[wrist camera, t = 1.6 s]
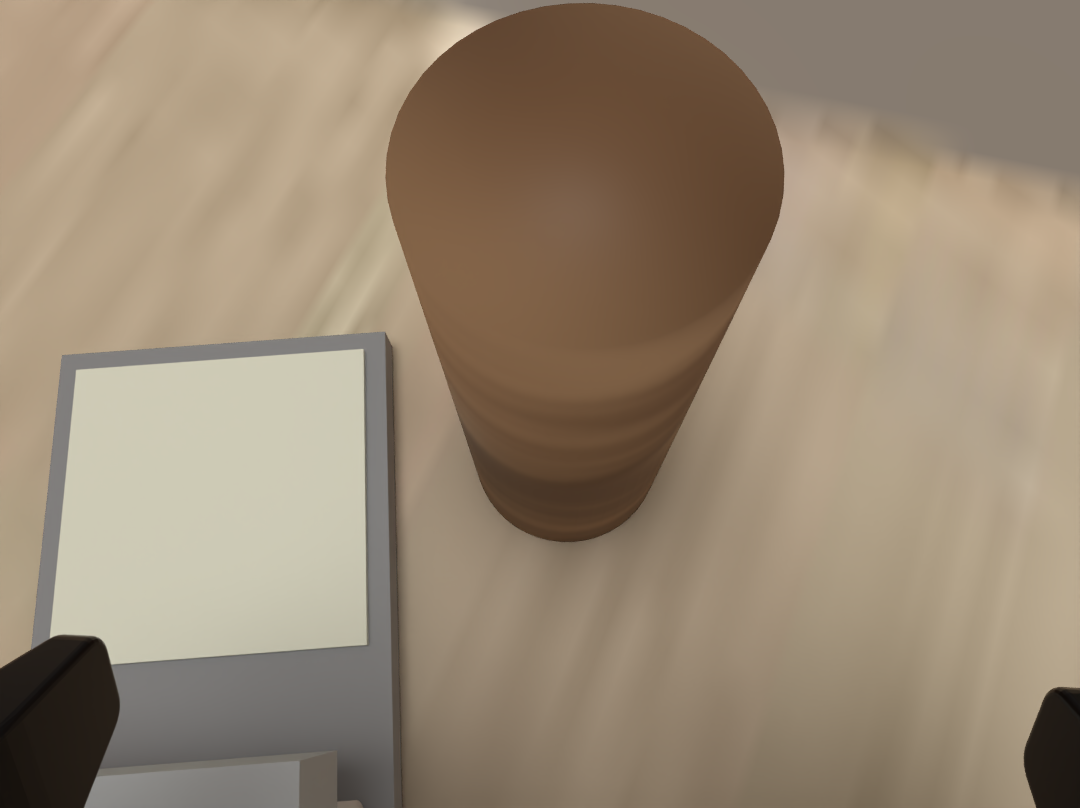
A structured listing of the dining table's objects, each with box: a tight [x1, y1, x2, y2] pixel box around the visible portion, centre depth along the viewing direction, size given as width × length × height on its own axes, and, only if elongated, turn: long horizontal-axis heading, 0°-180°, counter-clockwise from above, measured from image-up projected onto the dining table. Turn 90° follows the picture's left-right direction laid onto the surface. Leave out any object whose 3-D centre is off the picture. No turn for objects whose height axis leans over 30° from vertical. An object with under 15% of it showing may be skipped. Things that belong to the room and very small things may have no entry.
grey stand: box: [31, 332, 402, 808], centre depth 16 cm, size 20×8×6 cm, turn 4°
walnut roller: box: [386, 3, 784, 542], centre depth 16 cm, size 4×4×12 cm
